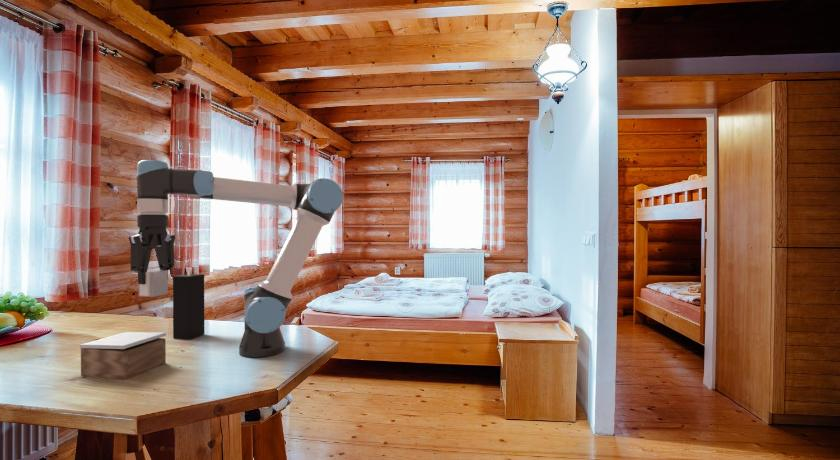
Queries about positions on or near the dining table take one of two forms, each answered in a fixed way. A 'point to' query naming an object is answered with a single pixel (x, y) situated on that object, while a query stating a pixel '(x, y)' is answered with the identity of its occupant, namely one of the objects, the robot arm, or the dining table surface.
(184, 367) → the dining table surface
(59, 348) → the dining table surface
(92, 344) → the lid
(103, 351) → the box
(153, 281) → the stone block
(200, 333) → the tall black column
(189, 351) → the dining table surface
